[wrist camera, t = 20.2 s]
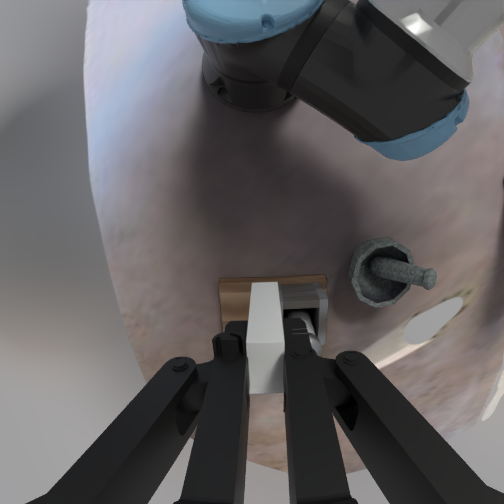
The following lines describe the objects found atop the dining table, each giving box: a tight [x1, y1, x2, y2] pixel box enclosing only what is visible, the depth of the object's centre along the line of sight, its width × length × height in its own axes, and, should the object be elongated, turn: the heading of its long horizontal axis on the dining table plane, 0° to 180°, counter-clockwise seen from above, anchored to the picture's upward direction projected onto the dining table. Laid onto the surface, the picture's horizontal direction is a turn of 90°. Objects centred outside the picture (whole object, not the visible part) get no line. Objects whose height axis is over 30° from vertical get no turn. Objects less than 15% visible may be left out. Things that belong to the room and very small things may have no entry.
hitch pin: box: [284, 308, 322, 357], centre depth 39 cm, size 4×4×14 cm
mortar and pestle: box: [348, 237, 436, 308], centre depth 38 cm, size 11×9×12 cm
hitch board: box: [218, 275, 328, 357], centre depth 44 cm, size 20×16×8 cm
